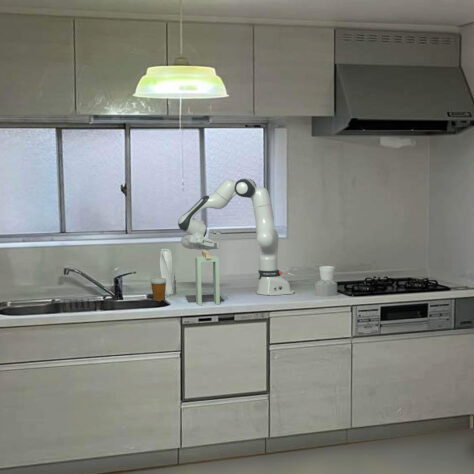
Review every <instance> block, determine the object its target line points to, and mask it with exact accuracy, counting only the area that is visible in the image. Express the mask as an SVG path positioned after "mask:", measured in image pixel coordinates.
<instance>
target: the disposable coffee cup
mask: <svg viewBox="0 0 474 474" xmlns="http://www.w3.org/2000/svg"><path fill="white" fill-rule="evenodd" d="M149 282H150V285H151V291H152V298H153V299H152V300H153V301H164V300H165V299H166V298H165V297H166V295H165V289H166V282H167V281H166V279H165V278H162V277H156V278H151V279H150V281H149Z"/></svg>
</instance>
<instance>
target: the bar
mask: <svg viewBox="0 0 474 474" xmlns="http://www.w3.org/2000/svg"><path fill="white" fill-rule="evenodd" d="M201 256H204V257H205V258H206V259H207V258H211V256H212V255H211V253H210V251H209V250H205V249H202V250H201Z"/></svg>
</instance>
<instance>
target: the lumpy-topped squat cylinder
mask: <svg viewBox="0 0 474 474" xmlns="http://www.w3.org/2000/svg"><path fill="white" fill-rule="evenodd" d="M337 295H338V282H336V281H334V280H333V281H332V280H326V281H324V280H321V279H320V280H318V281H317V282H315V283H314V296H315V297H335V296H337Z"/></svg>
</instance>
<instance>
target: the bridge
mask: <svg viewBox="0 0 474 474" xmlns="http://www.w3.org/2000/svg"><path fill="white" fill-rule="evenodd" d="M194 261H195V262H194V263H195V265H194V266H195V295H196V302H195V303H196V304H198V305H197V306H200V305H201V306H202V304H203V302H202V295H203V294H202V293H203V292H202V263H211V262H212V263H213V264H212V271H213V272H212V274H213V275H212V276H213V277H212V278H213V280H212V281H213V294H214V301H213V303H214V304H215V305H216V306H217V305H218V306H219V305H220V304H221V301H220V296H221V294H220V292H221V291H220V258H219V257H218V255H211V258H207V259H206V258H205V257H204V256H203V255H201V256H199V255H198V256H195V259H194Z"/></svg>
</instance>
